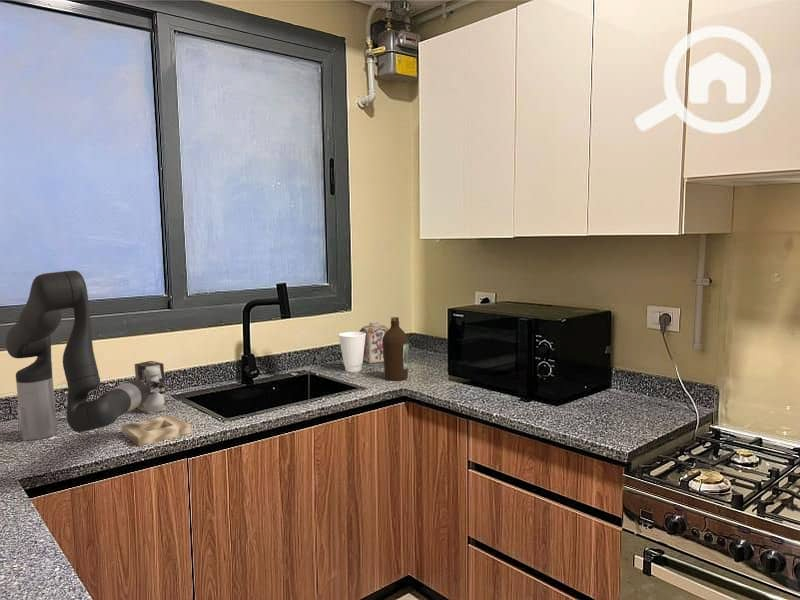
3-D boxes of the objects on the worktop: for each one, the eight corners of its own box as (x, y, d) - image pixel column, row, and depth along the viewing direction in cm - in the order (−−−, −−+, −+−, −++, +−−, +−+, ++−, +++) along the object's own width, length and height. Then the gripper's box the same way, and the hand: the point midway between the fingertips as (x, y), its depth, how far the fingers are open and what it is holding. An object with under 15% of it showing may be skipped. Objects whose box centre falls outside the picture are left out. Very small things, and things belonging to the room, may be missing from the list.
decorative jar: (369, 363, 263) (368, 325, 261) (358, 359, 273) (357, 322, 271) (392, 360, 269) (391, 322, 267) (381, 356, 279) (380, 319, 277)
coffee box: (167, 409, 198) (164, 363, 196) (148, 414, 193) (145, 366, 191) (155, 404, 204) (152, 360, 202) (137, 409, 199) (133, 363, 197)
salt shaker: (158, 406, 176) (156, 364, 175) (168, 409, 172) (166, 366, 171) (140, 410, 171) (137, 367, 170) (149, 414, 168) (147, 370, 167)
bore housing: (138, 446, 162) (138, 437, 162) (122, 433, 173) (121, 425, 173) (191, 433, 172) (190, 425, 172) (172, 422, 183) (172, 414, 183)
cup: (351, 366, 259) (350, 331, 258) (372, 369, 252) (371, 333, 251) (334, 371, 250) (332, 334, 248) (354, 374, 243) (353, 337, 241)
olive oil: (380, 381, 230) (379, 319, 228) (386, 374, 241) (384, 315, 238) (406, 381, 228) (405, 319, 226) (411, 375, 239) (410, 315, 236)
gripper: (151, 383, 156) (179, 369, 173) (101, 383, 157) (133, 369, 174) (153, 410, 157) (180, 393, 174) (103, 410, 158) (135, 393, 175)
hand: (157, 381), depth 174 cm, fingers closed on salt shaker, 3 cm apart
